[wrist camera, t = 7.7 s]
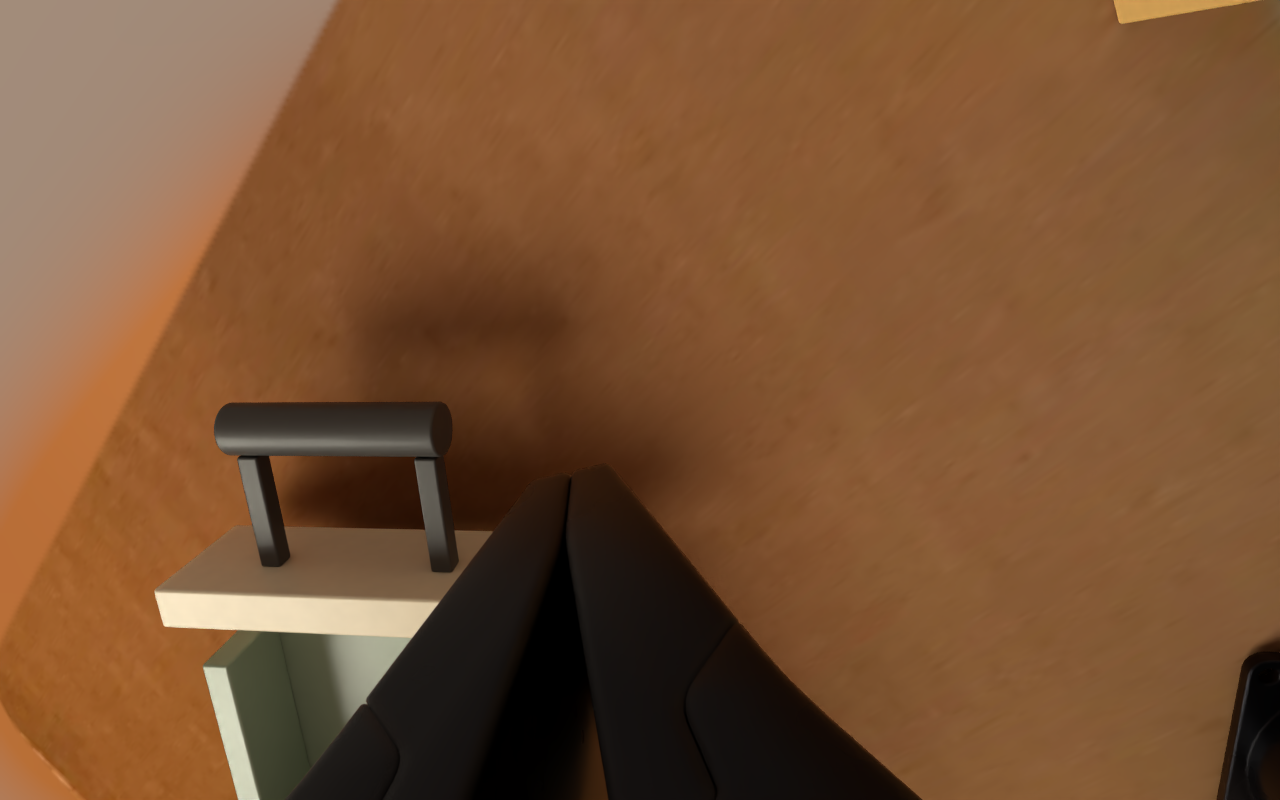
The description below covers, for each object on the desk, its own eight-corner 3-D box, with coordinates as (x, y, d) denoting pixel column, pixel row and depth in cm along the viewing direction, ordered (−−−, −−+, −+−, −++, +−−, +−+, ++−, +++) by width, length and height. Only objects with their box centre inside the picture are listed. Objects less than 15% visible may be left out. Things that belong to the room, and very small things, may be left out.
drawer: (200, 378, 26) (106, 426, 22) (546, 375, 24) (503, 426, 20) (299, 795, 31) (235, 888, 27) (592, 819, 29) (563, 921, 25)
